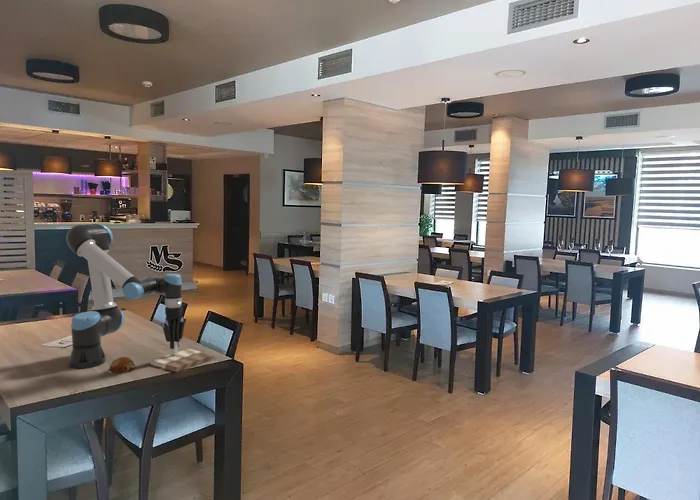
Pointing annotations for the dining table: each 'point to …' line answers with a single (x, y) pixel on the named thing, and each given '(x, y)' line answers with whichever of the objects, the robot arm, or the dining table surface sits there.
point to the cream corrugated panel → (173, 357)
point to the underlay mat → (178, 371)
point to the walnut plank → (189, 362)
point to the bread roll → (122, 365)
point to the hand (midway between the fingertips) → (174, 354)
